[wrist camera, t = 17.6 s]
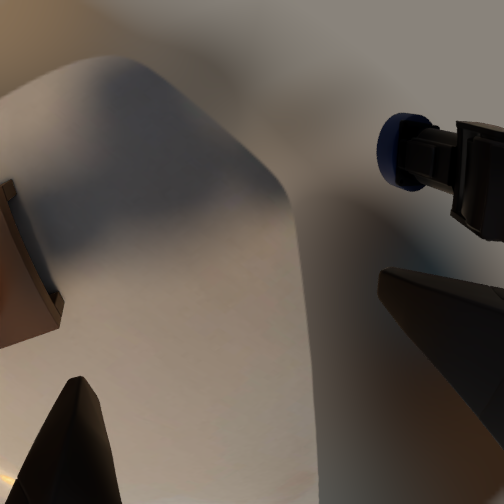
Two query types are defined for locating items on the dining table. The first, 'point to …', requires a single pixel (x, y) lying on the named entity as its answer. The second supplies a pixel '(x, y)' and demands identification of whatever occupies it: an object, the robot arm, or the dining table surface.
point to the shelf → (21, 285)
